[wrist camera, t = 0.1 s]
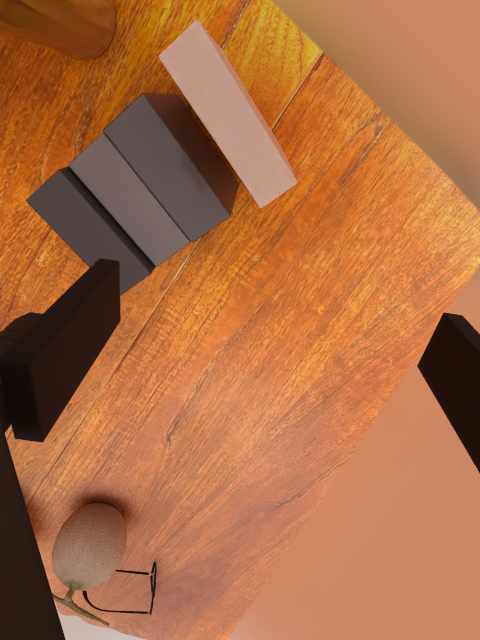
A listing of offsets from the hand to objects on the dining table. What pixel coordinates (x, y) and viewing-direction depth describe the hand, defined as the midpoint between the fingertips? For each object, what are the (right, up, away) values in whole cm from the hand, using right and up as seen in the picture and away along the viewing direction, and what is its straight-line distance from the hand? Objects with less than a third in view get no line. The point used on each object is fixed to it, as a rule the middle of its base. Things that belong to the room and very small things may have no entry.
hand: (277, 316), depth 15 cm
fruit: (-25, -32, +48) cm, 63 cm away
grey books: (-9, +13, +20) cm, 26 cm away
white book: (-1, +18, +17) cm, 25 cm away
